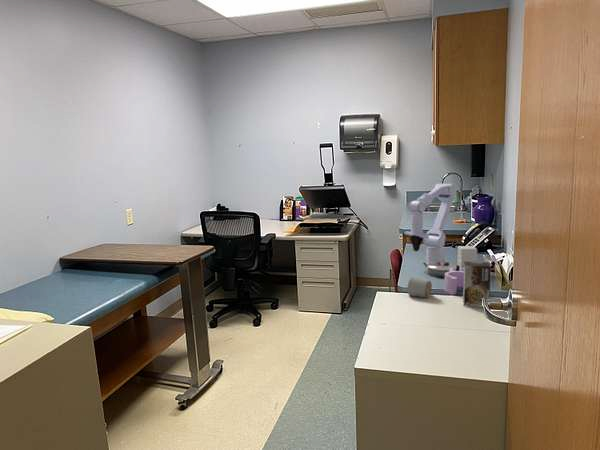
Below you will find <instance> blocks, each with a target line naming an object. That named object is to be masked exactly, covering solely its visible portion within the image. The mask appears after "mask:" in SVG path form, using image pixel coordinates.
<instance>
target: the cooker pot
mask: <svg viewBox="0 0 600 450" xmlns="http://www.w3.org/2000/svg"><path fill="white" fill-rule="evenodd" d="M443 263H444V262H443ZM455 265H456V264H455ZM424 266H425V268H427V275H428V276H430V277H433V278H441V279H445V273H446V272H449V271H439V270H433V269H429V268H428V267H427V264H424ZM456 266H457V269H456V271H459V269H460V266H459V265H456Z"/></svg>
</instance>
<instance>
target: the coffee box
mask: <svg viewBox="0 0 600 450" xmlns="http://www.w3.org/2000/svg"><path fill="white" fill-rule="evenodd" d="M491 269H492V268H491V264H490V262H486V261H477V262H467V261H464V288H463V287H462V288H463V289H462V291H463V292H462V293H463V295H462V303H464V304H463V306H464V305H468V306H467V307H473V306H482V298H491V297H490V296H491V295H490V294H491V292H490V291H491V271H492V270H491ZM481 308H484V307H483V306H482V307H481Z"/></svg>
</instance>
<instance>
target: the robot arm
mask: <svg viewBox="0 0 600 450" xmlns="http://www.w3.org/2000/svg"><path fill="white" fill-rule="evenodd" d="M457 191H458V190H457V185H456V184H455V183H440V182H439V183H436V184H434V188H433V189H432V190H431V191H430V192H428V193H422V195H421V196H419V197H418V198H417V199H416V200H412V201H411V202H410V203H409V206H408V209H409V214H410V218H411V219H410V231H409V230H407V231H404V235H405V236H410V237H409V240H410V242H411V244H412V248H413V252H419V250H420V247H421V244H422V243H423V245H424V246H425V248H426V262H427V264H429V263H436V262H438V261H439V262H441V263H443V262H446V250H445V249H444V246H445V243H446V237H447V236H446V234H445V233H444V229H445V225H446V223H447V220H448V217H449V214H450V210H451V208H452V206H453V205H452V204H453V203H454V202H453V201H455V198H456V196H457ZM435 198H437V199H438V200H439V201H440V202H441V203H440V206H439V209H438V212H437V215H436V216H435V220H434V223H433V227H432V228H431V229H429V230H427V232H426V233H424V232H423V230H424V228H423V227H424V225H423V224H424V213H425V211H426V209H427V207H428V206H430V204H432V203H433V201H434V199H435Z"/></svg>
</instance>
